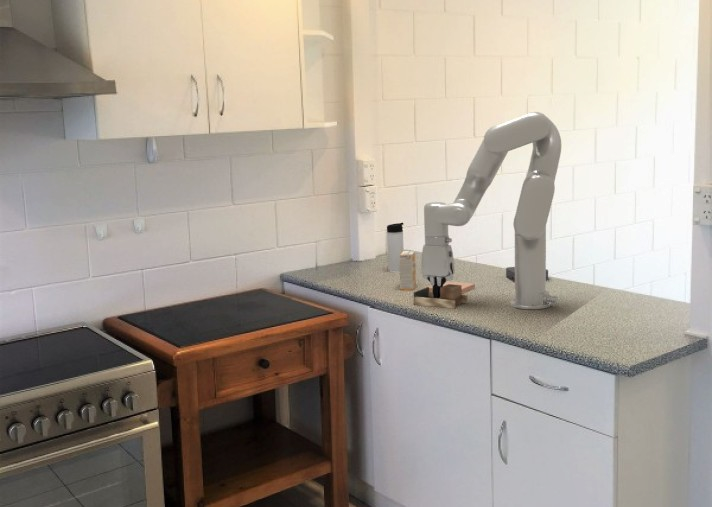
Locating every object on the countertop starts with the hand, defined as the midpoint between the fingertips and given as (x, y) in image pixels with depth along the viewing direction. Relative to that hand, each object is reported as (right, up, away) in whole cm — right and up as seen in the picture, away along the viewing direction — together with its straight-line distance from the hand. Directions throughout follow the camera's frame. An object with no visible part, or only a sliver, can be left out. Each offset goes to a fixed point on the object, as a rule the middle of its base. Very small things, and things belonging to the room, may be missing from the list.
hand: (438, 297), depth 259 cm
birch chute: (+1, -2, 0) cm, 2 cm away
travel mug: (-11, +6, +55) cm, 56 cm away
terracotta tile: (+6, +1, +18) cm, 19 cm away
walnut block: (+4, -2, -2) cm, 5 cm away
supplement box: (-8, +1, +25) cm, 27 cm away
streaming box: (+35, +4, +31) cm, 47 cm away
